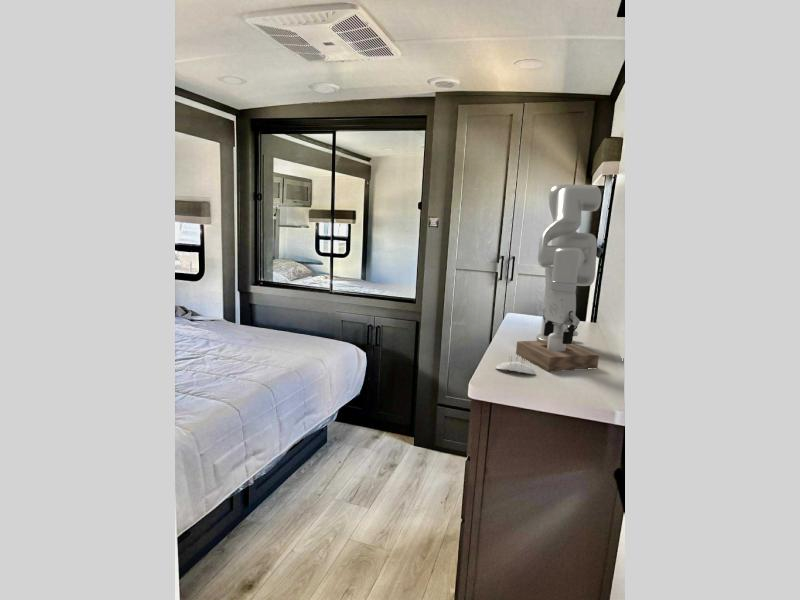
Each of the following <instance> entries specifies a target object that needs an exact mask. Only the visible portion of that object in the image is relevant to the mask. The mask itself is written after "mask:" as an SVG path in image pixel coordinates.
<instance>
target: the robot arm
mask: <svg viewBox="0 0 800 600" xmlns="http://www.w3.org/2000/svg"><path fill="white" fill-rule="evenodd" d="M601 202H602V192H601V190H600V188H599V186H598V185H597V184H596V185H595V184H594V185H593V184H557V185H554V186H553V187H551V189H550V190H549V194H548V205H549V211H550V214H551V217H552V223H551V224H550V225H549V226H547V228H546V229H545V230H544V231H543V233H542V234H541V236H540V239H539V244H538V245H539V246H538V252H537V261H538V265H539V266H540V267H542V268H544V275H545V278H544V279H545V280H544V281H545V287H544V289H545V290H544V302H543V308H542V310H541V311H542V319H541V321H542V322H541V330H540V333H539V334H537V335H536V336H535V340H536V341H542V340H548V336H549V334H551V333H554V329H555V326H556V325H557V324H560V325H561V326H562V327H563V330H562V334H563V342H562V343H563V344H573V337H577V336H579V332H578V330H577V328H578V326H579V324H580V322H581V321H580V319H579V318H578V317H577V315H576V311H577V296H576V295H577V294H576V292H577V291H576V290H577V286H579V287H588V286H589V287H590V286H591V285H593V283H594V282H595V279H596V265H597V251H598V250H597V249H598V246H597V245H598V243H597V242H598V240H597V238H596V236H595V234H593V233H588V232H577V230H579V229H580V227H581V225H582V212H596V211H598V210H599V208H600V207H601ZM550 242H551V245H548V244H549V243H550Z"/></svg>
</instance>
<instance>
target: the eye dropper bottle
mask: <svg viewBox="0 0 800 600" xmlns="http://www.w3.org/2000/svg"><path fill="white" fill-rule="evenodd" d="M562 330H563V327H562V326H561V325H560V324H557V325H556V326H555V329H554V333H551V334H549V336H548V344H547V349H549V350H551V351H553V352H560V351H566V344H563V343H562V342H563V334H562Z"/></svg>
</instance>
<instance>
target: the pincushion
mask: <svg viewBox="0 0 800 600" xmlns="http://www.w3.org/2000/svg"><path fill="white" fill-rule="evenodd" d="M518 357H519V356H518V355H516V358H515V361H506V362H502V363H500V364H498V365H496V366H495V367H496V368H495V369H498V370H507V371H508V370H509V371H510V372H511V371H513V372H514V373H516V372H518V373H519V374H520V375H521V374H524V373H525V374H530V375H535V376H537V374H536V370H534V369H533V368H532V367H531V366H529V365H527V364H525V363H524V362H525V361H526V360H525V358H522V357H521V361H523V362H518ZM509 359H511V357H510V356H509ZM523 359H524V360H523Z"/></svg>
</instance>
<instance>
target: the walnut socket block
mask: <svg viewBox="0 0 800 600" xmlns="http://www.w3.org/2000/svg"><path fill="white" fill-rule="evenodd" d="M547 344H548V340H542V341H539V340H523V341H522V340H519V341H516V350H515V355H516V354H517V355H516V356H518V355H519V356H518V357H520V356H521V357H520V358H521V359H522V358H523V359H524V358H525V359H526V360H525V361H527V360H528V361H527V362H529V361H530V362H529V363H531V364H533V365H535V366H536V365H537V367H538V366H539V368H540V369H541V370H544V371H546V372H548V373H550V372H551V371H554V372H563V371H562V370H569V371H576V370H575V369H585V370H589V369H588V368H597V369H598V367H599V366H598V365H599V359H600V354H598V353H595V352H594V351H591V350H589V349H587V348H584V347H581V346H578V345H575V344H573V343H572V344H566V351H560V352H553V351H551V350H549V349H547ZM551 373H552V372H551Z"/></svg>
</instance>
